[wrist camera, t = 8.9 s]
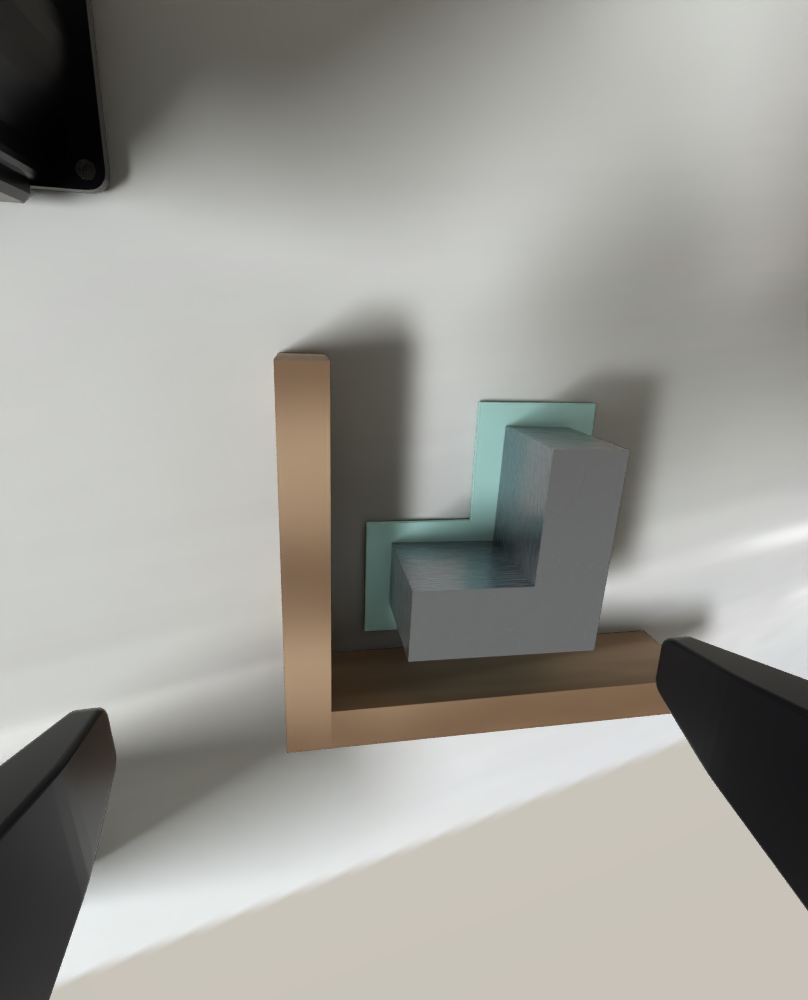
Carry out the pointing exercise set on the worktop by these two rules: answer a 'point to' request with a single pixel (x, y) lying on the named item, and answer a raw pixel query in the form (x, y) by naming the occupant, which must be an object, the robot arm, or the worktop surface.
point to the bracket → (519, 557)
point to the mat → (482, 499)
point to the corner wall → (386, 672)
